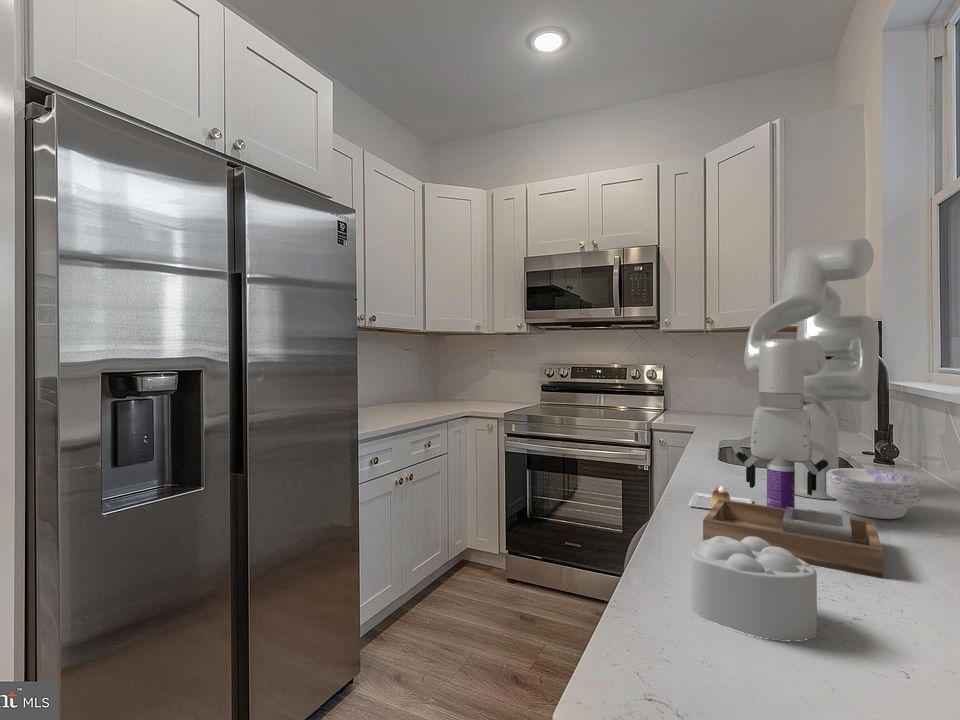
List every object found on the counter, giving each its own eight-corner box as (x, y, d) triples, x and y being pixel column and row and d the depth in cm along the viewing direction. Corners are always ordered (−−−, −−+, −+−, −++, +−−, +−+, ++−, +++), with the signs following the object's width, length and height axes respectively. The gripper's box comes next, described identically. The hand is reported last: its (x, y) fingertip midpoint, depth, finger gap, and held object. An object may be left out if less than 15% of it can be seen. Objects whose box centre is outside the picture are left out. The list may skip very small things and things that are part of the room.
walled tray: (719, 519, 99) (719, 499, 99) (873, 545, 85) (873, 521, 85) (703, 543, 86) (703, 520, 86) (882, 578, 72) (882, 550, 72)
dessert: (693, 497, 118) (693, 476, 118) (752, 503, 112) (752, 482, 112) (688, 510, 107) (688, 487, 107) (752, 518, 101) (752, 494, 101)
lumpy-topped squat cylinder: (706, 587, 69) (706, 524, 69) (820, 616, 61) (820, 545, 61) (684, 617, 61) (685, 545, 61) (812, 655, 53) (812, 573, 53)
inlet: (786, 531, 90) (786, 506, 90) (849, 542, 84) (849, 515, 84) (783, 547, 82) (783, 519, 82) (851, 559, 77) (851, 530, 77)
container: (798, 525, 95) (798, 446, 95) (771, 523, 96) (771, 445, 96) (788, 518, 100) (789, 442, 100) (763, 516, 101) (763, 441, 101)
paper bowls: (809, 507, 108) (809, 470, 108) (854, 499, 114) (854, 464, 114) (891, 529, 94) (891, 486, 94) (936, 519, 100) (936, 479, 100)
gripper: (834, 403, 96) (834, 492, 96) (734, 399, 106) (733, 480, 106) (835, 405, 90) (834, 501, 90) (728, 401, 100) (728, 487, 100)
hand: (780, 489), depth 98 cm, fingers open, 9 cm apart
